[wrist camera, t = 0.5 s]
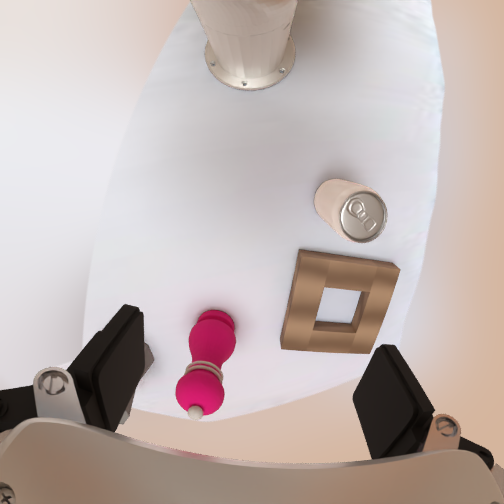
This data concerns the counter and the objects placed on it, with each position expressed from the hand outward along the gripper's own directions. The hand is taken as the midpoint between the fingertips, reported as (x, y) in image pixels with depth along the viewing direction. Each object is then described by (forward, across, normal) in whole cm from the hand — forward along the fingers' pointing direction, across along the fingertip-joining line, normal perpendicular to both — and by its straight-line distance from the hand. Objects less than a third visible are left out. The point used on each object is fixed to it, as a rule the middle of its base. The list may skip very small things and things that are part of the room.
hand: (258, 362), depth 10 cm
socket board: (+32, -15, +12) cm, 37 cm away
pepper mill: (+32, +4, +19) cm, 37 cm away
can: (+32, -10, -4) cm, 34 cm away
